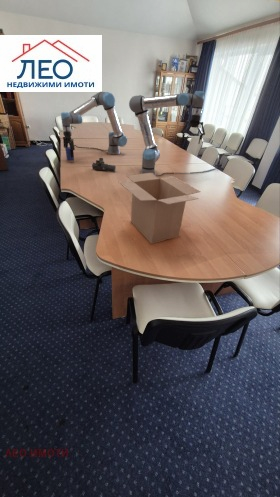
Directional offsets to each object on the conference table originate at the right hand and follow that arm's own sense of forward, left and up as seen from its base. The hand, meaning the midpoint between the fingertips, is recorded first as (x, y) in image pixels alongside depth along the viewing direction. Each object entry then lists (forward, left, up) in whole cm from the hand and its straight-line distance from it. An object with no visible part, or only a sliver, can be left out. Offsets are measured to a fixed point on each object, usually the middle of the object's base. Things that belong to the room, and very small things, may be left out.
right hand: (190, 142), depth 191 cm
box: (+44, +92, -31) cm, 106 cm away
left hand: (+111, -41, -25) cm, 121 cm away
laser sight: (+77, -16, -31) cm, 84 cm away
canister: (+111, -40, -29) cm, 122 cm away
